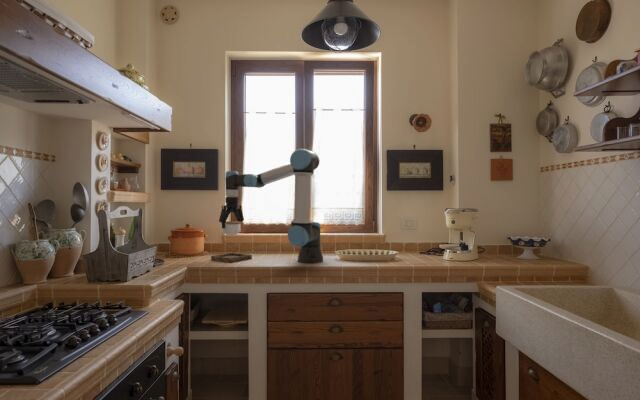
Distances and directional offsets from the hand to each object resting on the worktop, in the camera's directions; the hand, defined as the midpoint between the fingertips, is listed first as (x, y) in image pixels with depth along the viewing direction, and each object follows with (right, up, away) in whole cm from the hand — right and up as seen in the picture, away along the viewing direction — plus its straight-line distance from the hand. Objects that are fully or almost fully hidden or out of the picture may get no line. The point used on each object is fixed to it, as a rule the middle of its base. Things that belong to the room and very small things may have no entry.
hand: (231, 233), depth 237 cm
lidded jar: (0, -1, 0) cm, 1 cm away
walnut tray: (0, -16, 0) cm, 16 cm away
